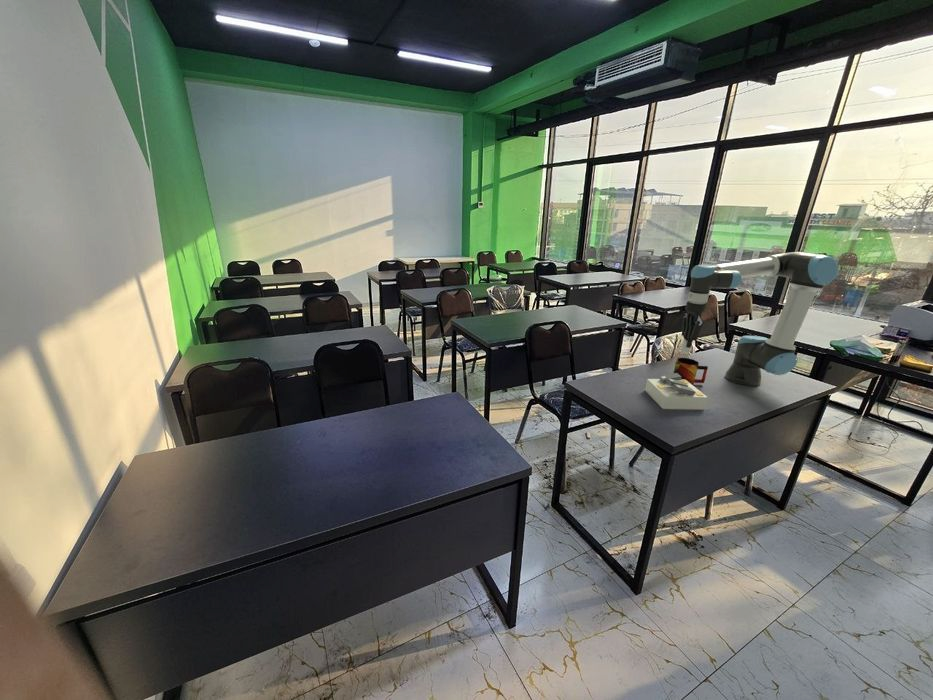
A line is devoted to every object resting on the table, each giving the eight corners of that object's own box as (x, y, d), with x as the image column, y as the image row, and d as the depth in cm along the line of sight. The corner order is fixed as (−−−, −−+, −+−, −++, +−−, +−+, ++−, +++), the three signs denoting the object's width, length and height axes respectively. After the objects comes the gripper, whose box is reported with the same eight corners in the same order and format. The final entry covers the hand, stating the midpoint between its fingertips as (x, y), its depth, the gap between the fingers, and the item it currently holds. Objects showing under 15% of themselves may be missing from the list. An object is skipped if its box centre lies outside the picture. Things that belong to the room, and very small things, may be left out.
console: (682, 390, 188) (685, 378, 185) (704, 409, 171) (707, 395, 169) (645, 390, 188) (647, 377, 185) (663, 409, 171) (666, 395, 168)
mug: (704, 385, 194) (709, 362, 190) (683, 389, 190) (688, 366, 186) (687, 377, 203) (692, 355, 199) (667, 381, 198) (671, 358, 194)
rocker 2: (681, 385, 179) (683, 381, 178) (686, 389, 175) (688, 385, 175) (665, 381, 178) (667, 377, 178) (670, 385, 175) (671, 381, 174)
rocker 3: (689, 391, 173) (690, 387, 173) (693, 395, 170) (696, 391, 169) (672, 387, 173) (674, 383, 172) (676, 391, 169) (678, 387, 168)
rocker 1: (676, 376, 184) (676, 372, 183) (681, 379, 180) (681, 376, 180) (659, 379, 185) (659, 375, 184) (663, 383, 181) (663, 379, 180)
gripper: (680, 298, 176) (669, 347, 184) (696, 305, 163) (684, 358, 171) (696, 298, 176) (685, 348, 184) (714, 306, 163) (701, 358, 172)
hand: (685, 353), depth 178 cm, fingers closed
